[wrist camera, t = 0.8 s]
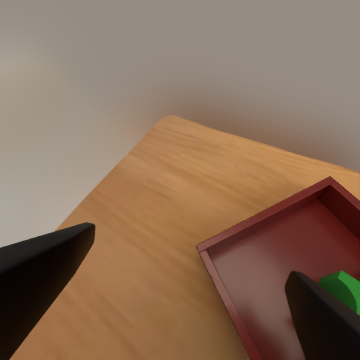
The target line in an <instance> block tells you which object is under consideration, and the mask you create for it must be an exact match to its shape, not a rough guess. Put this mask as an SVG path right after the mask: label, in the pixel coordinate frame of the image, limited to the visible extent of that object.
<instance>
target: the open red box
mask: <svg viewBox="0 0 360 360" xmlns="http://www.w3.org/2000/svg"><path fill="white" fill-rule="evenodd" d="M196 248H197V250H198V252H199V254H200V256H201V258H202V260H203V262H204V264H205V266H206V268H207V271H208V273H209V275H210V277H211V279H212V281H213V283H214V285H215V287H216V289H217V291H218V293H219V295H220V297H221V299H222V301H223V303H224V306H225V308H226V310H227V312H228V314H229V316H230V318H231V320H232V322H233V324H234V326H235V328H236V330H237V332H238V334H239V336H240V338H241V341H242V343H243V345H244V347H245V349H246V351H247V353H248V355H249V357H250V359H251V360H306V359H305V356H304V354H303V351H302V348H301V345H300V342H299V340H298V337H297V334H296V331H295V328H294V325H293V321H292V317H291V314H290V310H289V306H288V302H287V298H286V294H285V290H284V287H285V283H286V281H287V279H288V276H289V274H290V272H291V271H298V272H302V273H304V274H305V275H306V276H308V277H309V278H310V279H312V280H313V281H314V282H316V283H318V282H319V280H320V278H321V277H324V276H327V275H330V274H333V273H335V272H338V271H341V270H342V271H343V272H345V273H347V274H348V275H350V276H351V277H353V278H355V279H356V280H358V281H359V278H360V201H359V200H358V199H357V198H356V197H354V196H353V195H352V194H351V193H350V192H349V191H347V190H346V189H345V188H344V187H343V186H342V185H340V184H339V183H338V182H337V181H335V180H334V179H333V178H332V177H331V176H329V177H327V178H326V179H324V180H322V181H320V182H318V183H316V184H314V185H312V186H310V187H308V188H306V189H304V190H302V191H300V192H298V193H297V194H295V195H293V196H291V197H289V198H287V199H285V200H283V201H281V202H279V203H277V204H275V205H273V206H271V207H269V208H268V209H266V210H264V211H262V212H260V213H258V214H256V215H254V216H252V217H250V218H248V219H246V220H244V221H242V222H240V223H239V224H237V225H235V226H233V227H231V228H229V229H227V230H225V231H223V232H221V233H219V234H217V235H215V236H213V237H211V238H210V239H208V240H206V241H204V242H202V243H200V244H198V245H196Z"/></svg>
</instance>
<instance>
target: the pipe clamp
mask: <svg viewBox="0 0 360 360" xmlns="http://www.w3.org/2000/svg"><path fill="white" fill-rule="evenodd" d="M317 284H318V285H320V286H321V287H322V288H324V289H325V290H326V291H328V292H329V293H330V294H332V295H333V296H335V297H336V298H337V299H339V300H340V301H341V302H343V303H344V304H345V305H347V306H348V307H349V308H351V309H352V310H353V311H355V312H356V313H357V314H359V315H360V278H359V281H358V280H356V279H355V278H353V277H351V276H350V275H348V274H347V273H345V272H343V271H342V270H341V271H338V272H335V273H333V274H330V275H327V276H324V277H321V278H320V280H319V282H318V283H317Z"/></svg>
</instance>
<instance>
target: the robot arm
mask: <svg viewBox="0 0 360 360" xmlns="http://www.w3.org/2000/svg"><path fill="white" fill-rule="evenodd" d="M94 238H95V225H94V224H92V223H88V222H85V223H82V224H78V225H75V226H72V227H68V228H65V229H62V230H58V231H55V232H52V233H48V234H45V235H42V236H38V237H35V238H31V239H28V240H25V241H21V242H18V243H15V244H11V245H8V246H5V247H1V248H0V360H9V359H10V358H11V357H12V355H13V354H14V353H15V351H16V350H17V349H18V348H19V346H20V345H21V344H22V342H23V341H24V340H25V338H26V337H27V336H28V334H29V333H30V332H31V331H32V329H33V328H34V327H35V325H36V324H37V323H38V321H39V320H40V319H41V318H42V316H43V315H44V314H45V312H46V311H47V310H48V308H49V307H50V306H51V304H52V303H53V302H54V301H55V299H56V298H57V297H58V295H59V294H60V293H61V291H62V290H63V289H64V287H65V286H66V285H67V284H68V282H69V281H70V280H71V278H72V277H73V276H74V274H75V273H76V271H77V270H78V268H79V266H80V265H81V263H82V261H83V260H84V258H85V257H86V255H87V253H88V252H89V250H90V248H91V247H92V245H93V243H94ZM284 290H285V294H286V298H287V302H288V306H289V310H290V314H291V317H292V321H293V325H294V328H295V331H296V334H297V337H298V340H299V342H300V345H301V348H302V351H303V354H304V356H305V359H306V360H360V315H359V314H357V313H356V312H355V311H353V310H352V309H351V308H349V307H348V306H347V305H345V304H344V303H343V302H341V301H340V300H339V299H337V298H336V297H335V296H333V295H332V294H330V293H329V292H328V291H326V290H325V289H324V288H322V287H321V286H320V285H318V284H317V283H316V282H314V281H313V280H312V279H310V278H309V277H308V276H306V275H305V274H304V273H302V272H298V271H291V272H290V274H289V276H288V279H287V281H286V283H285V287H284Z"/></svg>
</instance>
